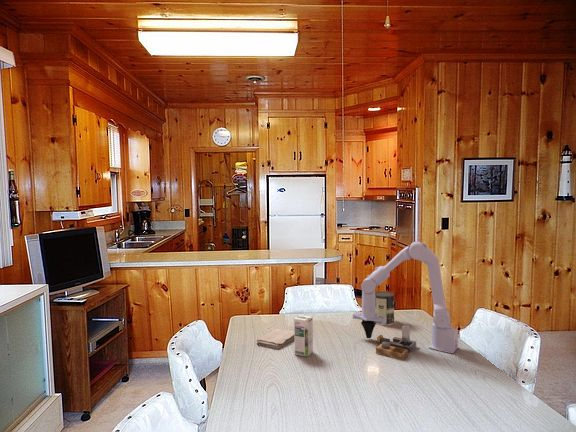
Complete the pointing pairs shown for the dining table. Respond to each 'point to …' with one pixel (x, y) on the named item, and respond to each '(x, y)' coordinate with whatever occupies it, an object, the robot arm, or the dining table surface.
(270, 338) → the washcloth
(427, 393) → the dining table surface
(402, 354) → the frame
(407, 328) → the metallic rounded cylinder
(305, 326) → the syrup box
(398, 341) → the socket block
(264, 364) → the dining table surface
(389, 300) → the coffee can
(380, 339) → the drift key
